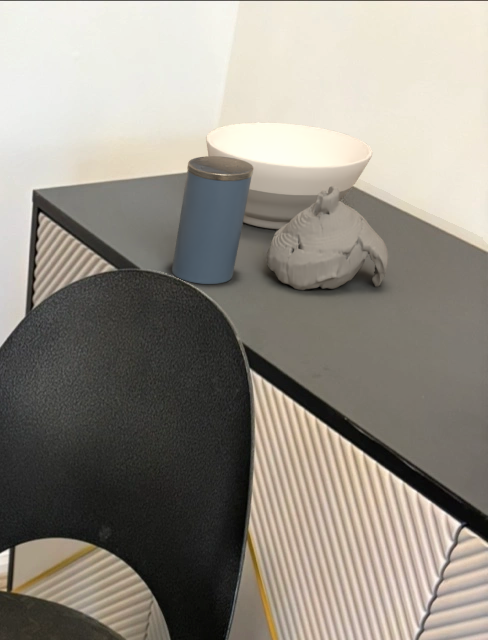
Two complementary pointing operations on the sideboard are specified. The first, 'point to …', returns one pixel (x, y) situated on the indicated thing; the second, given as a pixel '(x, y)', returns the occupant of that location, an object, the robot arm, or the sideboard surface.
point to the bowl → (289, 166)
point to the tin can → (211, 219)
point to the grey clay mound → (326, 246)
